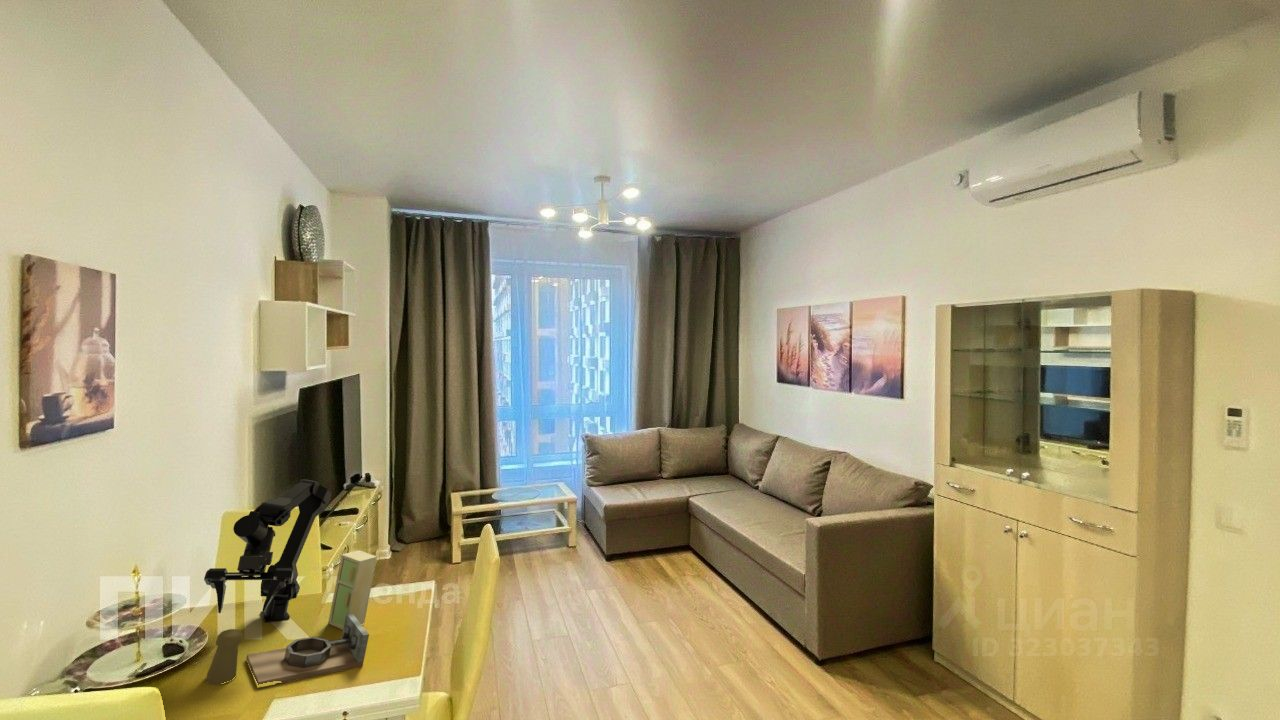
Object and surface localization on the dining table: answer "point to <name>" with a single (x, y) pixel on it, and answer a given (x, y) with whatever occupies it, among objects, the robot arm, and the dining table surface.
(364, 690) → the dining table surface
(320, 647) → the clip ring
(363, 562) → the toy refrigerator
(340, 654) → the wooden peg base
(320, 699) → the dining table surface
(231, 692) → the dining table surface
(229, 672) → the cork
